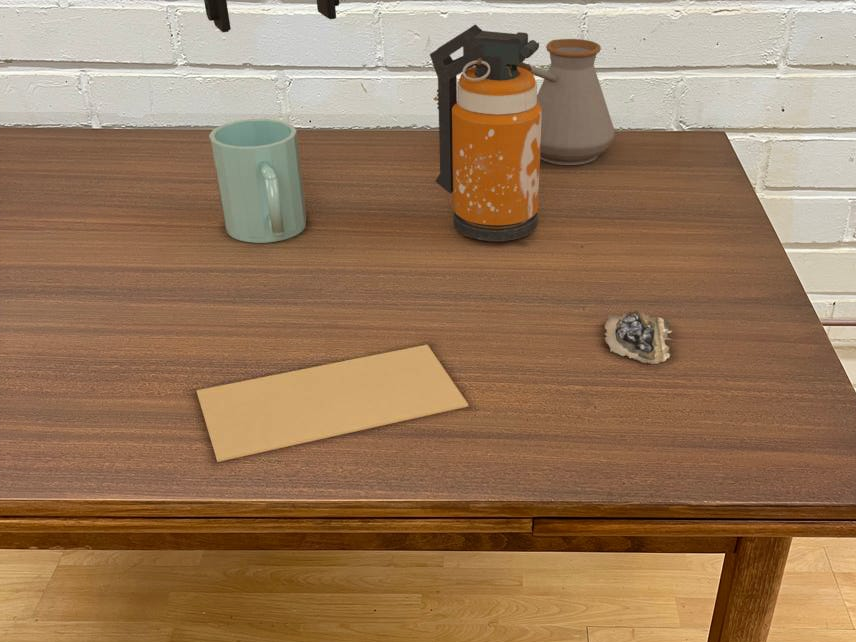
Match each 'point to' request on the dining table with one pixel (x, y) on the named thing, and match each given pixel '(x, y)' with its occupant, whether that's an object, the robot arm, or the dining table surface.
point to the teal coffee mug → (259, 179)
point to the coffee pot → (572, 104)
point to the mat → (326, 401)
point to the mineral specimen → (638, 336)
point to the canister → (489, 133)
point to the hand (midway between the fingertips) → (275, 22)
